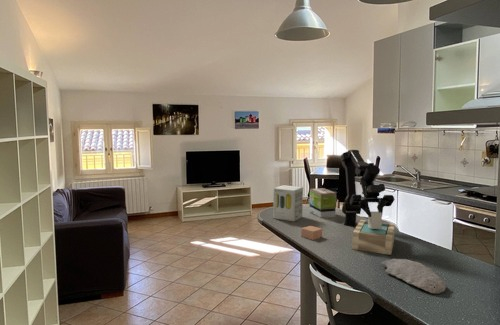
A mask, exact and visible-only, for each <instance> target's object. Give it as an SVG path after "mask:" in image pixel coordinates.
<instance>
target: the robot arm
mask: <svg viewBox="0 0 500 325" xmlns="http://www.w3.org/2000/svg"><path fill="white" fill-rule="evenodd" d="M340 161H341V165H342V167H343V168H344V170H345V180H346V181H345V183H346V184H345V185H346V197H345V198H344V203H343V204H342V207H341V212H342V213H343V214H344V215H345V217H344V222H343V225H344V226H350V227H356V226H357V225H358V222H357V215H361V211H362V210H363V212H365V213H366V215H367V217H368V216H369V217H371V212H370V211H371V210H370V206H369V203H377V206H376V208H377V212H381V213H382V214H383V213H384V212H383V211H384V208H385V207H390V206H392V204H393V203H394V202H395V196H394V195H393V194H392V195H391V194H384V195H383V197H379V196H380V193H382V192H384V191H386V185H385V183H379V184H375V181H376V180H377V178H378V176H379V174H380V171H381V169H380V168H379V167H378V165H376V164H374V162H369V163H368V162H366V161H365V160H364V159H363V157H362V155H361V153H360V150H359V149H349V150H348V151H345V152H343V153H342V154H341V155H340ZM356 176H357V177H358V178H360V180H359V185H360V186H361V190H362V192H361V194H357V190H356V189H357V187H356ZM362 195H363V196H362Z"/></svg>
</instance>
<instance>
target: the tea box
mask: <svg viewBox="0 0 500 325" xmlns="http://www.w3.org/2000/svg"><path fill="white" fill-rule="evenodd" d="M336 204H337V192H335V191H332V190H330V189H326V188H324V187H320V188H309V206H308V208H309V209H308V212H309V213H311V214H314V215H315V216H317V217H319V218H320V219H325V218H335V217H336V208H337V207H336Z"/></svg>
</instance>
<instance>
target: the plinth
mask: <svg viewBox="0 0 500 325" xmlns="http://www.w3.org/2000/svg"><path fill="white" fill-rule="evenodd" d="M300 229H301V230H300V232H301V233H300V234H301V235H300V236H301V237H302V238H305V239H308V240H312V241H314V240H318V239H321V238H322V237H323V228H321V227H317V226H313V225H309V226H304V227H301V228H300ZM320 237H321V238H320ZM317 238H318V239H317Z"/></svg>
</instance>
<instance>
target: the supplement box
mask: <svg viewBox="0 0 500 325" xmlns="http://www.w3.org/2000/svg"><path fill="white" fill-rule="evenodd" d="M303 193H304V186H294V185H287V184H283V185H280V186H279V185H278V186H276V187H273V201H272V202H273V205H272V207H273V208H272V209H273V210H272V211H273V214H272V218H273V219H277V220H282V221H283V220H284V221H290V222H295V221H297V220H299V219H300V218H302V217H303V200H304V199H303V198H304V197H303V196H304V194H303Z"/></svg>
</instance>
